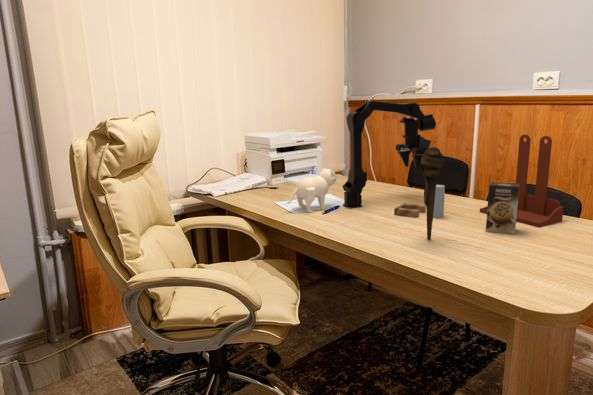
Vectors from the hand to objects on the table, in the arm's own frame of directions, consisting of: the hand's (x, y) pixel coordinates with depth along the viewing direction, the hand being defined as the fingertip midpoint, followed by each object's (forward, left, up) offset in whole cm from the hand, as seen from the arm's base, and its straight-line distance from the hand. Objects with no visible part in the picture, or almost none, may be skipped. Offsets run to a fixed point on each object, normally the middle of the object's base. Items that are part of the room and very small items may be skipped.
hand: (412, 168), depth 186 cm
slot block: (-13, -18, -14) cm, 27 cm away
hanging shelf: (+20, -40, -15) cm, 47 cm away
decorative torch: (-25, -48, -15) cm, 56 cm away
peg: (-7, -27, -14) cm, 31 cm away
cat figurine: (-45, +5, -15) cm, 48 cm away
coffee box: (+2, -50, -15) cm, 52 cm away
